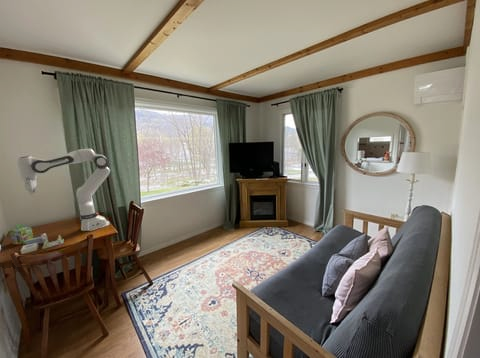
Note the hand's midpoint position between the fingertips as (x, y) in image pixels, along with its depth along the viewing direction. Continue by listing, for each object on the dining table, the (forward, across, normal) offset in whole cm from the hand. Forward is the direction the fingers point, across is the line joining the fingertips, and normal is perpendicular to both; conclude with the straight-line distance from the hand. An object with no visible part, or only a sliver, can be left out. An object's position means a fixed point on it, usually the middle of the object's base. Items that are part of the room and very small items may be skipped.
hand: (33, 193), depth 165 cm
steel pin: (+40, -10, -2) cm, 41 cm away
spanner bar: (+40, -6, +4) cm, 41 cm away
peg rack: (+40, -18, -8) cm, 44 cm away
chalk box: (+40, +5, +13) cm, 43 cm away
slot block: (+40, -17, +6) cm, 44 cm away
